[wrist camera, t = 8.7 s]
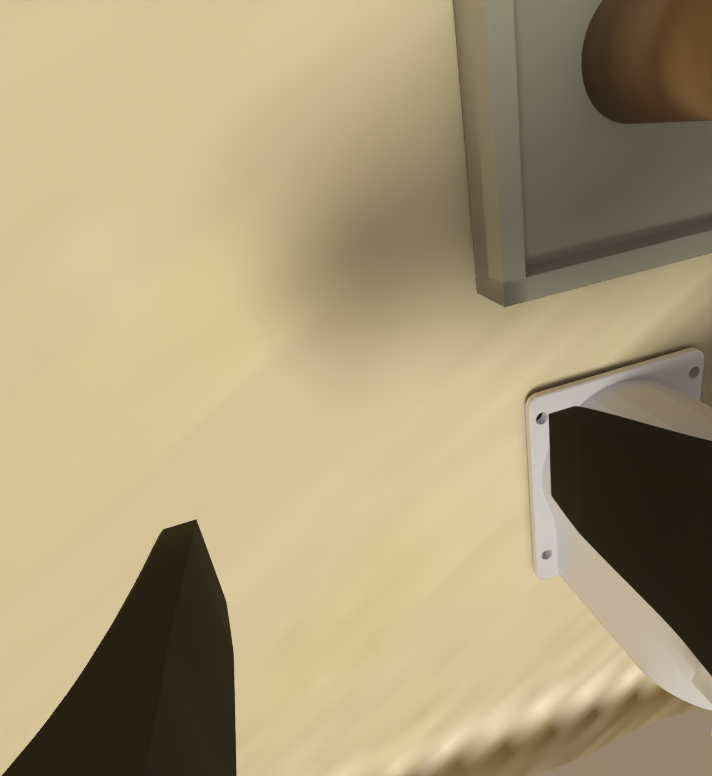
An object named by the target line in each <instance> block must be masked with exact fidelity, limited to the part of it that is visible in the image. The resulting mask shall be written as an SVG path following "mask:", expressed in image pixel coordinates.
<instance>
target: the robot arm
mask: <svg viewBox="0 0 712 776" xmlns="http://www.w3.org/2000/svg"><path fill="white" fill-rule="evenodd" d="M703 368H704V353H703V352H702V351H700V350H698V349H696V348H687V349H684V350H680V351H677V352H673V353H670V354H667V355H663V356H660V357H656V358H653V359H650V360H646V361H643V362H639V363H636V364H632V365H629V366H626V367H622V368H619V369H615V370H612V371H608V372H605V373H602V374H598V375H595V376H591V377H588V378H584V379H581V380H578V381H574V382H571V383H567V384H564V385H561V386H557V387H554V388H550V389H547V390H543V391H540V392H537V393H534V394H532V395H531V396H530V397H529V398H528V400H527V401H526V405H525V413H526V432H527V452H528V472H529V491H530V511H531V531H532V550H533V570H534V573H535V574H536V575H537V577H538V578H539V579H542V580H545V579H549V578H552V577H555V576H558V575H560V576H561V578H562V579H563V580H564V581H565V582H566V583H567V585H568V586H569V587H570V588H571V589H572V590H573V592H574V593H575V594H576V595H577V596H578V597H579V599H580V600H581V601H582V602H583V603H584V604H585V606H586V607H587V608H588V609H589V610H590V611H591V613H592V614H593V615H594V616H595V617H596V618H597V620H598V621H599V622H600V623H601V624H602V625H603V627H604V628H605V629H606V630H607V631H608V632H609V634H610V635H611V636H612V637H613V638H614V639H615V641H616V642H617V643H618V644H619V645H620V646H621V648H622V649H623V650H624V651H625V652H626V653H627V655H628V656H629V657H630V658H631V659H632V660H633V662H634V663H635V664H636V665H637V666H638V667H639V669H640V670H641V671H642V672H643V673H644V674H645V675H647V676H648V677H649V678H650V679H651V680H652V681H653V682H654V683H656V684H657V685H658V686H660V687H661V688H663V689H664V690H666V691H667V692H669V693H671V694H673V695H674V696H676V697H678V698H680V699H682V700H684V701H686V702H689V703H691V704H693V705H696V706H698V707H701V708H704V709H708V710H712V407H710V406H708V405H706V404H704V403H702V402H700V399H701V389H702V378H703ZM691 369H692V370H691ZM690 370H691V372H690V373H689V371H690ZM540 413H542V416H541V417H540V419H538V420H536V417H537V416H538V414H540ZM544 551H545V552H544ZM543 552H544V553H543ZM711 735H712V731H711ZM2 776H236V734H235V689H234V654H233V645H232V638H231V630H230V624H229V617H228V610H227V604H226V600H225V597H224V594H223V591H222V589H221V586H220V583H219V580H218V578H217V575H216V572H215V570H214V567H213V564H212V561H211V559H210V556H209V553H208V550H207V548H206V545H205V542H204V539H203V537H202V534H201V531H200V528H199V526H198V523H197V520H193V521H190V522H186V523H183V524H180V525H176V526H173V527H170V528H166V529H163V530H162V532H161V533H160V535H159V537H158V539H157V541H156V543H155V544H154V546H153V548H152V550H151V552H150V554H149V556H148V558H147V560H146V562H145V564H144V566H143V568H142V570H141V572H140V574H139V576H138V578H137V580H136V582H135V584H134V586H133V588H132V589H131V591H130V593H129V595H128V597H127V598H126V600H125V602H124V604H123V606H122V607H121V609H120V611H119V613H118V615H117V616H116V618H115V620H114V622H113V623H112V625H111V627H110V628H109V630H108V632H107V633H106V635H105V636H104V638H103V640H102V641H101V643H100V644H99V646H98V648H97V649H96V651H95V652H94V654H93V656H92V657H91V659H90V661H89V662H88V664H87V665H86V667H85V668H84V670H83V671H82V673H81V674H80V676H79V677H78V679H77V680H76V682H75V683H74V685H73V686H72V688H71V689H70V690H69V692H68V693H67V695H66V696H65V697H64V699H63V700H62V701H61V703H60V704H59V705H58V707H57V708H56V709H55V711H54V712H53V713H52V715H51V716H50V718H49V719H48V720H47V722H46V723H45V724H44V725H43V727H42V728H41V729H40V731H39V732H38V733H37V734H36V736H35V737H34V738H33V739H32V740H31V742H30V743H29V744H28V745H27V746H26V747H25V749H24V750H23V751H22V752H21V753H20V755H19V756H18V757H17V758H16V759H15V761H14V762H13V763H12V764H11V765H10V767H9V768H8V769H7V770H6V771H5V772H4V774H3V775H2Z"/></svg>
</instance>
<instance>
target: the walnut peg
mask: <svg viewBox="0 0 712 776" xmlns="http://www.w3.org/2000/svg"><path fill="white" fill-rule="evenodd" d="M581 68H582V78H583V83H584V87H585V90H586V93H587V95H588V97H589V99H590V101H591V103H592V104H593V106H594V107H595V108H596V110H597V111H598V112H599V113H600V114H602V115H603V116H604V117H606V118H607V119H609V120H611V121H613V122H616V123H621V124H642V123H666V122H689V121H712V0H603V1H602V2H601V3H600V5H599V6H598V8H597V9H596V11H595V13H594V15H593V17H592V19H591V21H590V23H589V26H588V28H587V31H586V35H585V38H584V42H583V48H582V58H581Z"/></svg>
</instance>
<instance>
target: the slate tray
mask: <svg viewBox="0 0 712 776" xmlns="http://www.w3.org/2000/svg"><path fill="white" fill-rule="evenodd" d="M602 1H603V0H453V8H454V20H455V32H456V44H457V56H458V68H459V80H460V92H461V104H462V116H463V128H464V140H465V152H466V164H467V176H468V188H469V200H470V212H471V224H472V236H473V248H474V260H475V272H476V284H477V293H479V294H481V295H483V296H484V297H486V298H488V299H490V300H492V301H494V302H496V303H498V304H500V305H502V306H504V307H507V306H510V305H514V304H518V303H522V302H526V301H529V300H533V299H537V298H541V297H545V296H549V295H552V294H556V293H560V292H564V291H568V290H571V289H575V288H579V287H583V286H587V285H591V284H594V283H598V282H602V281H606V280H610V279H613V278H617V277H621V276H625V275H629V274H632V273H636V272H640V271H644V270H648V269H652V268H655V267H659V266H663V265H667V264H671V263H674V262H678V261H682V260H686V259H690V258H693V257H697V256H701V255H705V254H709V253H712V121H689V122H666V123H642V124H621V123H616V122H613V121H611V120H609V119H607V118H606V117H604V116H603V115H602V114H600V113H599V112H598V111H597V110H596V108H595V107H594V106H593V104H592V103H591V101H590V99H589V97H588V95H587V93H586V90H585V87H584V83H583V78H582V68H581V58H582V48H583V42H584V38H585V35H586V31H587V28H588V26H589V23H590V21H591V19H592V17H593V15H594V13H595V11H596V9H597V8H598V6H599V5H600V3H601V2H602Z"/></svg>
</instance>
